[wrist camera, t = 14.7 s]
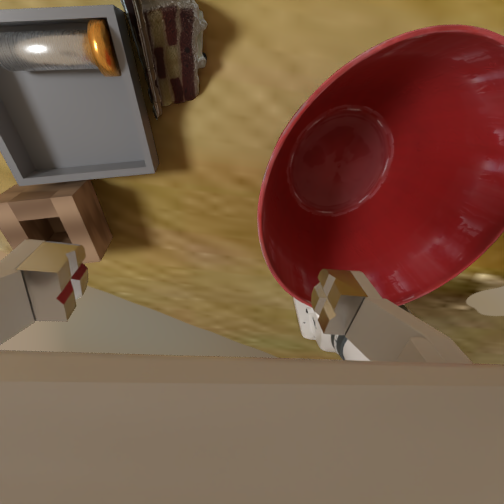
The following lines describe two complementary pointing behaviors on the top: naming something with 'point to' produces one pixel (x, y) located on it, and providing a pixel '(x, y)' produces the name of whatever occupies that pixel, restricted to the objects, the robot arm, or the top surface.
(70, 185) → the hitch block
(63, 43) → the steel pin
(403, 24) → the top surface
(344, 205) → the mixing bowl
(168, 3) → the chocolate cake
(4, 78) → the tray
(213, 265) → the top surface
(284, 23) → the top surface
